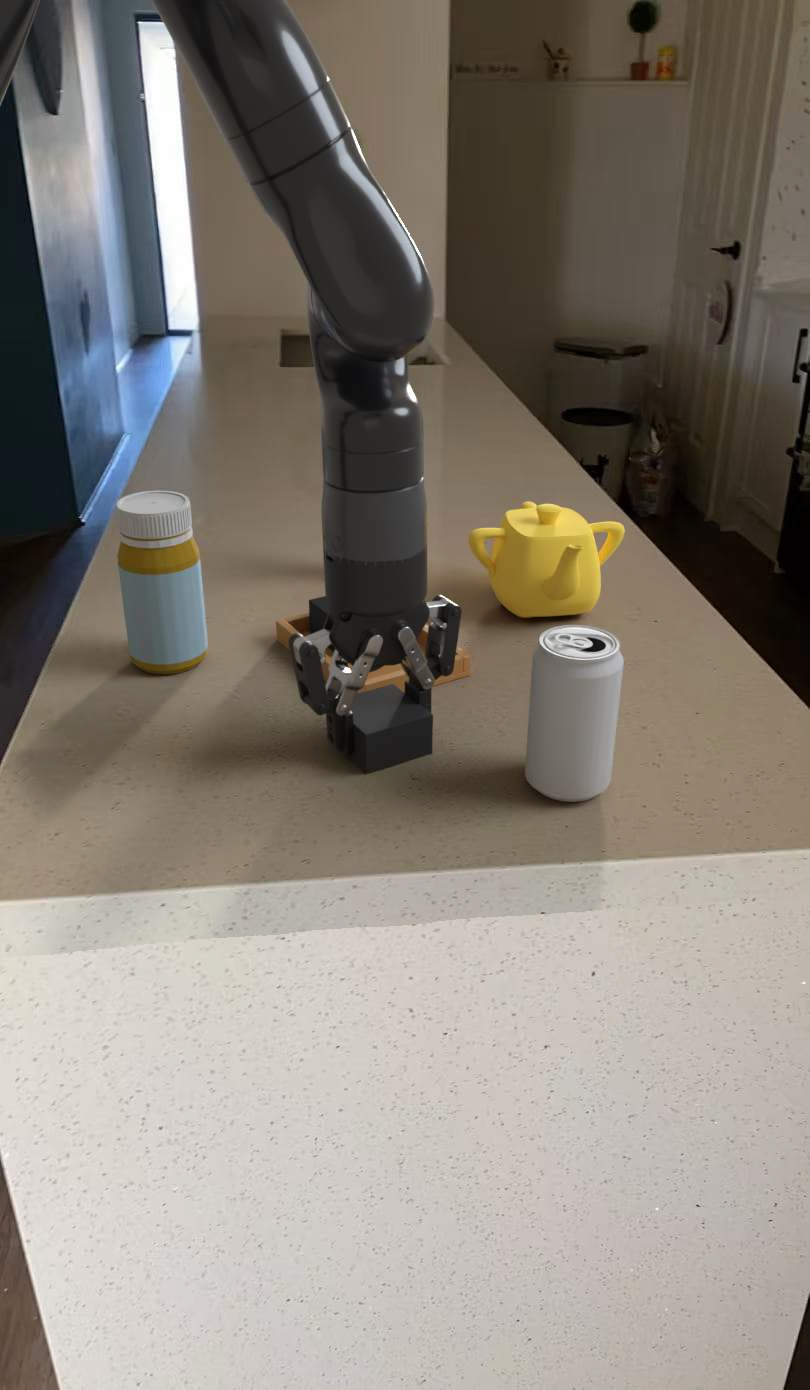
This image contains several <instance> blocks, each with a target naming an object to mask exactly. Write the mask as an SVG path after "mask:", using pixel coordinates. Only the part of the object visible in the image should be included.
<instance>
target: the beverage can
mask: <svg viewBox="0 0 810 1390" xmlns="http://www.w3.org/2000/svg"><path fill="white" fill-rule="evenodd" d="M620 648H621V642H620V640H619V639H618V638H617V636H616V635H614V634H613V633H611V632H609V631H607V630H605V629H602V628H600V627H595V626H590V625H584V624H565V625H560V626H559V625H558V626H554V627H551V628H549V629H547V630H544V631H543V632H542V633H541V634H540V636H539V639H538V645H537V646H536V647H535V649H534V650H533V652H532V662H531V677H530V691H529V707H528V720H527V721H528V722H527V735H526V752H525V764H524V765H525V766H524V767H525V768H524V776H525V779H526V780H527V782H528V783H529V784H530V786H532V788H533V789H535V790H537V791H538V792H539V793H540V794H542V795H543V796H545V797H547V798H549V799H552V800H555V801H560V802H567V803H579V802H584V801H588V800H591V799H593V798H595V797H596V796H598V795H600V794H602V793H603V792H605V791H606V790H607V789H608V787H609V786H610V783H611V781H612V780H611V779H612V773H613V772H612V771H613V762H614V753H615V743H616V734H617V727H618V726H617V725H618V718H619V717H618V716H619V708H620V699H621V690H622V682H623V681H622V680H623V673H624V663H625V661H624V660H625V659H624V656H623V655H622V653H621V649H620Z"/></svg>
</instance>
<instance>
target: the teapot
mask: <svg viewBox="0 0 810 1390" xmlns="http://www.w3.org/2000/svg"><path fill="white" fill-rule="evenodd" d="M594 533H607V537H606V540H605V542H604V544H603V545H602V547H601V548H600V549H599V551H598V547H597V543H596V540H595V536H594ZM625 533H626V530H625V527H624V525H623V524H622V523H620V522H618V521H600V522H594V523H589V522H588V521H587V519H586V518H585V517H583V516H582V515H581V514H580V513H578V512H577V511H575V510H573V509H571V508H568V507H561V506H560V505H558V504H553V503H541V504H539V505H537V504H536V503H534V502H533V501H524V502H523V503H521V505H520V508H516V509H509V510H507V511H506V512H505V513H504V515H503V517H502V519H501V522H500V524H499V527H480V528H476V529H473V530H472V531H470V533H469V534H468V538H467V540H468V545H469V549H470V550H471V552H472V554H473V555H474V557H475V559H476V560H478V561H479V563H480V564H481V565H482V566H483V567H484V568H485V569H486V570H487V571H488V579H489V583H490V586H491V588H492V591H493V593H494V594H495V596H496V598H497V600H498V601H499V602H500V603H501V605H502V606H503V607H504V608H506V610H508V611H509V612H511V613H512V614H514V615H515V616H517V617H519V618H523V619H530V618H537V617H540V618H541V617H558V616H576V615H580V614H587V613H589V612H591V611H592V610H593V609H594V607H595V606H596V604H597V602H598V600H599V598H600V597H601V596H600V595H601V588H602V576H601V567H602V565H603V564H604V563H605V562H606V561H607V560H608V559H609V558H610V557H611V556H612V555H613V554H614V553H615V551H616V550H617V549H618V547H619V546H620V545H621V543H622V541H623V539H624V536H625ZM492 538H494V540H493V544H492V548H491V552H490V556H489V554H488V551H487V548H486V546H485V541H486V540H488V539H492Z"/></svg>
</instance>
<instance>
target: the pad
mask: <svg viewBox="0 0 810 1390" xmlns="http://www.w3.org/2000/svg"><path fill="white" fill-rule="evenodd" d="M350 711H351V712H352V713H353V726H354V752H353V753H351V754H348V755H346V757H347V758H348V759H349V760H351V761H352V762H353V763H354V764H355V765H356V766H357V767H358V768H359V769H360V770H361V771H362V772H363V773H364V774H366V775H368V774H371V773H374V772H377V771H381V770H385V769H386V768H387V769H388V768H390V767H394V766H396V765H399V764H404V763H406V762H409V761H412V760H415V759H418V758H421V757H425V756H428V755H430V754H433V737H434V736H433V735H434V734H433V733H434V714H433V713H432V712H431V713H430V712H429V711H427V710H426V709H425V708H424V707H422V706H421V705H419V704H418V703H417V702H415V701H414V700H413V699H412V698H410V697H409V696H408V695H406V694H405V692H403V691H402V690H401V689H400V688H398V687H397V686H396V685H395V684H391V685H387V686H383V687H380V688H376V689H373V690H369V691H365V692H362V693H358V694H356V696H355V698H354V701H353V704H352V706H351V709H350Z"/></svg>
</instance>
